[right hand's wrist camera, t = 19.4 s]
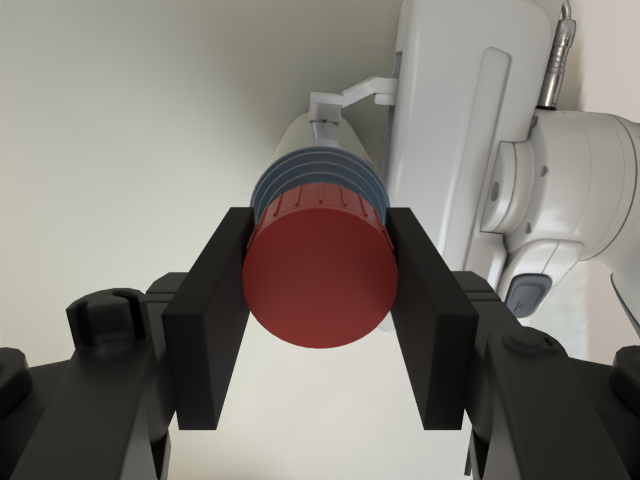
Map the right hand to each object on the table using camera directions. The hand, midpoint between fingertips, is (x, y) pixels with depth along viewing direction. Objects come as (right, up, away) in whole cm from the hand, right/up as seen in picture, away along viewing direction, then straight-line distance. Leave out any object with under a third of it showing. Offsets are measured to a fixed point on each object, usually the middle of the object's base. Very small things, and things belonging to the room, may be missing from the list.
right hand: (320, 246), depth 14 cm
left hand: (-1, +5, +11) cm, 12 cm away
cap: (0, 0, 0) cm, 0 cm away
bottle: (0, +7, +17) cm, 19 cm away
